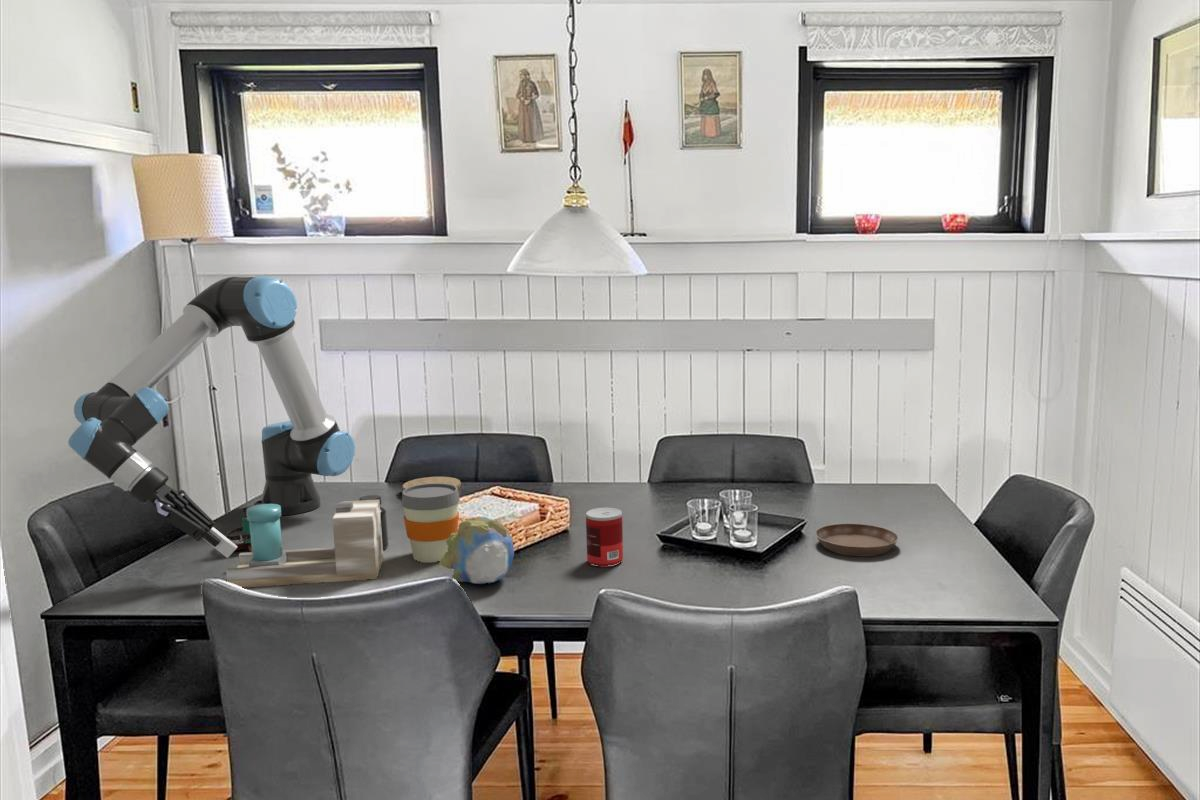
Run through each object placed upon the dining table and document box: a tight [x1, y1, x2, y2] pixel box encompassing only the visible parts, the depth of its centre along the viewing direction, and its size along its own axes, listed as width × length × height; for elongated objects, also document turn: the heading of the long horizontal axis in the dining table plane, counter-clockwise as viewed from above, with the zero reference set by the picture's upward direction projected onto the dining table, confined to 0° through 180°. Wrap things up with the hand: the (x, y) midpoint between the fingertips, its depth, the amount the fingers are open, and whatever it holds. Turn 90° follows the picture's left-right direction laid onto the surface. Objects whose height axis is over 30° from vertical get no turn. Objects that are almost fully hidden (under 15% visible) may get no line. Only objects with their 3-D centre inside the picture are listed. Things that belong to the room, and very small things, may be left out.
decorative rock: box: [439, 516, 515, 585], centre depth 195 cm, size 14×16×15 cm
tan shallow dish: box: [402, 476, 462, 495], centre depth 264 cm, size 16×16×3 cm
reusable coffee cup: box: [401, 483, 460, 563], centre depth 210 cm, size 12×13×15 cm
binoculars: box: [225, 499, 264, 552], centre depth 220 cm, size 9×10×10 cm
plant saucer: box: [815, 523, 899, 557], centre depth 211 cm, size 18×18×3 cm
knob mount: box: [225, 499, 384, 588], centre depth 201 cm, size 13×30×14 cm, turn 97°
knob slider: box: [246, 504, 287, 567], centre depth 200 cm, size 7×7×13 cm
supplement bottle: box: [358, 494, 390, 551], centre depth 217 cm, size 7×7×12 cm
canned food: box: [585, 507, 624, 566], centre depth 204 cm, size 8×8×11 cm
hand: (232, 552), depth 200 cm, fingers closed
